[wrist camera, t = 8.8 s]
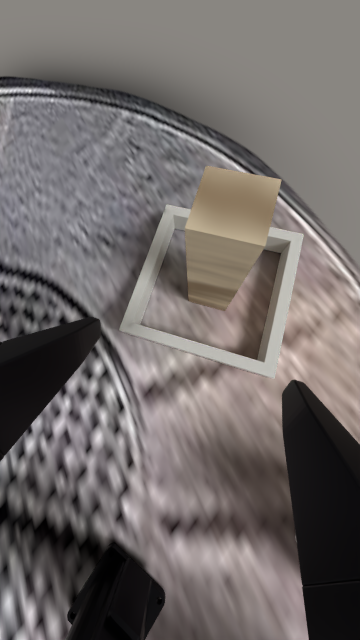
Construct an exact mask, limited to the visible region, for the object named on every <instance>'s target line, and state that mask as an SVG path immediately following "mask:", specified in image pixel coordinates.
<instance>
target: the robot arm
mask: <svg viewBox="0 0 360 640" xmlns="http://www.w3.org/2000/svg"><path fill="white" fill-rule="evenodd" d="M100 336H101V324H100V320H99V319H97V318H94V317H89V318H85V319H81V320H78V321H74V322H71V323H67V324H64V325H60V326H56V327H53V328H49V329H46V330H42V331H39V332H35V333H32V334H28V335H24V336H21V337H17V338H14V339H10V340H7V341H3V342H0V461H1V460H2V459H3V457H4V456H5V455H6V454H7V452H8V451H9V450H10V449H11V448H12V446H13V445H14V444H15V443H16V442H17V440H18V439H19V438H20V437H21V436H22V435H23V433H24V432H25V431H26V430H27V429H28V427H29V426H30V425H31V424H32V423H33V421H34V420H35V419H36V418H37V417H38V415H39V414H40V413H41V412H42V411H43V409H44V408H45V407H46V406H47V405H48V403H49V402H50V401H51V400H52V399H53V397H54V396H55V395H56V394H57V393H58V392H59V390H60V389H61V388H62V387H63V386H64V384H65V383H66V382H67V381H68V380H69V378H70V377H71V376H72V375H73V374H74V372H75V371H76V370H77V369H78V368H79V366H80V365H81V364H82V363H83V361H84V360H85V359H86V357H87V356H88V354H89V353H90V351H91V350H92V348H93V347H94V345H95V344H96V342H97V341H98V339H99V338H100ZM282 427H283V439H284V447H285V454H286V462H287V470H288V478H289V486H290V493H291V501H292V509H293V517H294V525H295V533H296V540H297V548H298V556H299V564H300V572H301V580H302V585H303V587H302V589H303V597H304V605H305V612H306V620H307V628H308V636H309V640H360V444H359V443H358V442H357V441H356V440H355V439H354V438H353V437H352V435H351V434H350V433H349V432H348V431H347V430H346V429H345V428H344V427H343V425H342V424H341V423H340V422H339V421H338V420H337V419H336V418H335V417H334V415H333V414H332V413H331V412H330V411H329V410H328V409H327V408H326V407H325V406H324V404H323V403H322V402H321V401H320V400H319V399H318V398H317V397H316V396H315V394H314V393H313V392H312V391H311V390H310V389H309V388H308V387H307V386H306V384H305V383H303V382H300V381H297V380H292V381H291V382H290V383H289V384H288V386H287V387H286V388H285V390H284V391H283V394H282ZM111 550H112V551H113V552H114V553H111ZM158 597H160V598H161V599H158ZM164 603H165V592H164V590H163V589H162V588H161V587H160V586H159V585H158V584H157V583H156V582H154V581H153V580H152V579H151V578H150V577H149V576H148V575H147V574H146V573H145V572H144V571H143V570H142V569H141V568H140V567H139V566H138V565H137V564H136V563H135V562H134V561H133V560H132V559H131V558H130V557H129V556H128V555H127V554H126V553H124V552H123V551H122V550H121V549H120V548H119V547H118V546H117V545H116V544H115V543H112V544H110V545H109V547H108V548H107V550H106V551H105V553H104V555H103V556H102V558H101V559H100V561H99V563H98V564H97V566H96V567H95V569H94V571H93V572H92V574H91V575H90V577H89V579H88V580H87V582H86V583H85V585H84V587H83V588H82V590H81V591H80V593H79V595H78V596H77V598H76V599H75V601H74V603H73V604H72V606H71V608H70V610H69V612H68V615H67V618H68V621H69V622H70V623H71V624H72V626H71V629H70V631H69V633H68V635H67V637H66V639H65V640H145V638H146V636H147V635H148V633H149V631H150V629H151V627H152V626H153V624H154V622H155V620H156V619H157V617H158V615H159V613H160V611H161V610H162V608H163V606H164ZM73 612H74V613H75V614H74V613H73Z"/></svg>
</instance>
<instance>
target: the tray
mask: <svg viewBox="0 0 360 640" xmlns="http://www.w3.org/2000/svg"><path fill="white" fill-rule="evenodd" d="M190 212H191V210H190V209H185V208H181V207H176V206H171V205H166V208H165V210H164V213H163V215H162V218H161V221H160V223H159V226H158V229H157V231H156V234H155V237H154V239H153V242H152V244H151V247H150V250H149V252H148V255H147V258H146V260H145V263H144V265H143V268H142V271H141V273H140V276H139V279H138V281H137V284H136V286H135V289H134V292H133V294H132V297H131V300H130V302H129V305H128V308H127V310H126V313H125V315H124V318H123V321H122V323H121V326H120V329H119V330H120V331H122V332H124V333H126V334H129V335H132V336H135V337H139V338H142V339H145V340H148V341H151V342H155V343H158V344H161V345H164V346H167V347H171V348H174V349H177V350H180V351H183V352H187V353H190V354H193V355H196V356H199V357H203V358H206V359H209V360H212V361H215V362H219V363H222V364H225V365H228V366H231V367H235V368H238V369H241V370H244V371H247V372H251V373H254V374H257V375H260V376H264V377H268V378H275V373H276V368H277V364H278V359H279V354H280V349H281V344H282V339H283V334H284V329H285V324H286V319H287V314H288V310H289V305H290V300H291V295H292V290H293V285H294V280H295V275H296V270H297V265H298V261H299V256H300V251H301V246H302V241H303V236H304V234H300V233H296V232H291V231H286V230H282V229H277V228H273V227H270V229H269V233H268V237H267V241H266V245H265V248H264V249H265V250H269V251H273V252H277V253H281V256H280V260H279V265H278V269H277V273H276V278H275V282H274V287H273V291H272V296H271V300H270V304H269V309H268V313H267V318H266V322H265V327H264V331H263V335H262V340H261V344H260V349H259V353H258V358H257V360H254V359H251V358H248V357H244V356H241V355H238V354H234V353H231V352H228V351H225V350H221V349H218V348H215V347H211V346H208V345H205V344H201V343H198V342H195V341H192V340H188V339H185V338H182V337H178V336H175V335H172V334H168V333H165V332H162V331H159V330H155V329H152V328H149V327H145V326H142V325H140V324H141V321H142V318H143V315H144V313H145V310H146V307H147V304H148V302H149V299H150V296H151V293H152V290H153V288H154V285H155V282H156V279H157V277H158V274H159V271H160V268H161V265H162V263H163V260H164V257H165V254H166V252H167V249H168V246H169V243H170V240H171V238H172V235H173V232H174V229H178V230H183V231H185V226H186V223H187V220H188V217H189V214H190Z"/></svg>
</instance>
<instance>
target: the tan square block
mask: <svg viewBox="0 0 360 640" xmlns="http://www.w3.org/2000/svg"><path fill="white" fill-rule="evenodd" d="M280 184H281V179H275V178H270V177H264V176H259V175H253V174H248V173H243V172H237V171H232V170H226V169H221V168H215V167H210V166H206V168H205V171H204V174H203V177H202V180H201V182H200V185H199V188H198V191H197V194H196V197H195V200H194V203H193V206H192V209H191V212H190V214H189V217H188V220H187V223H186V226H185V242H186V261H187V280H188V298H189V301H190V302H193V303H197V304H201V305H204V306H208V307H212V308H215V309H219V310H223V311H225V310H226V309H227V307H228V305H229V304H230V302H231V301H232V299H233V297H234V296H235V294H236V293H237V291H238V289H239V288H240V286H241V285H242V283H243V281H244V280H245V278H246V277H247V275H248V273H249V272H250V270H251V268H252V267H253V265H254V264H255V262H256V260H257V259H258V257H259V256H260V254H261V252H262V251H263V249H264V248H265V245H266V241H267V237H268V233H269V229H270V225H271V221H272V217H273V212H274V208H275V204H276V200H277V196H278V192H279V188H280Z"/></svg>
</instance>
